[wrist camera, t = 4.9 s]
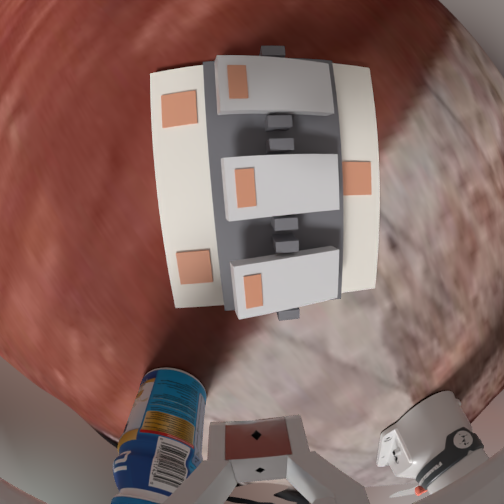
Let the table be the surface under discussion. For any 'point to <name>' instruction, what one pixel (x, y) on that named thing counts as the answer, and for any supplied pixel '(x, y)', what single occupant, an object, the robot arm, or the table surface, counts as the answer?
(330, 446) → the table surface
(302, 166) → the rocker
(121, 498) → the beverage bottle
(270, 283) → the white rectangular block
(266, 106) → the rocker
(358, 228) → the switch unit
